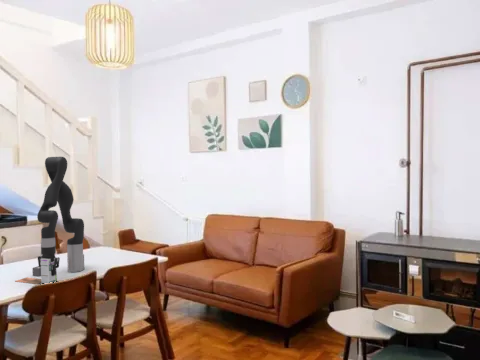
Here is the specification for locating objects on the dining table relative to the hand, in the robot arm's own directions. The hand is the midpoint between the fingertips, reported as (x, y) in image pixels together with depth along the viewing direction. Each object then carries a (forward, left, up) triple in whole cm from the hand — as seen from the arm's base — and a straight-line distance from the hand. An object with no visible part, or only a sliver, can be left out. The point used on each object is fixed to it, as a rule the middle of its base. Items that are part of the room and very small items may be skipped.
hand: (48, 275), depth 222 cm
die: (-11, -19, -5) cm, 22 cm away
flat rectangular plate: (0, -9, -5) cm, 10 cm away
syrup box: (0, 0, -5) cm, 5 cm away
